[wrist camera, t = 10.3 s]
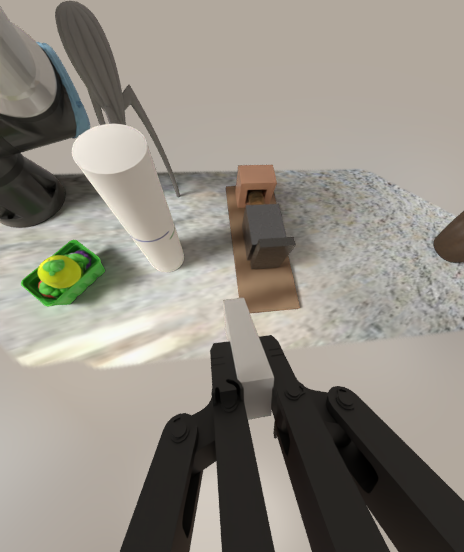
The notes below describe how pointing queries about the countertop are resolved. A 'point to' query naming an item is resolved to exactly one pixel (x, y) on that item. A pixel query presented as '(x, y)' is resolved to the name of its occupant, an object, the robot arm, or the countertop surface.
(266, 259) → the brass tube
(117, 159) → the cylindrical container
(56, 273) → the fruit basket
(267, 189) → the terracotta socket
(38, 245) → the countertop surface
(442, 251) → the plant pot
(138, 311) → the countertop surface
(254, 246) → the metal sleeve
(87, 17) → the citrus juicer
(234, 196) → the walnut board
